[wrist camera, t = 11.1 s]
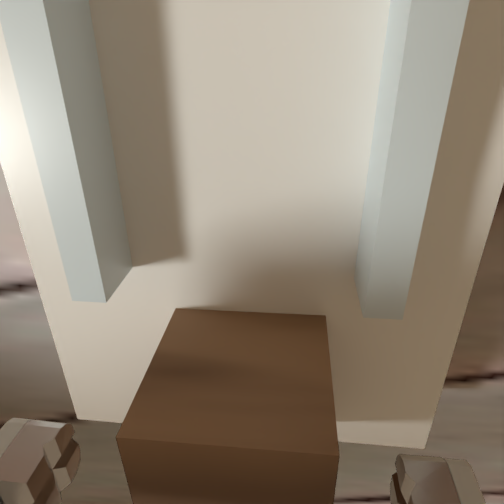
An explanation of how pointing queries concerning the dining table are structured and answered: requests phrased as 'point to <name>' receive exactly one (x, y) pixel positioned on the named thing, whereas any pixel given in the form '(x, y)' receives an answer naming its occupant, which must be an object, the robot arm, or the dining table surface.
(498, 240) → the dining table surface
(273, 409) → the walnut block
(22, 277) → the dining table surface
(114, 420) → the channel
